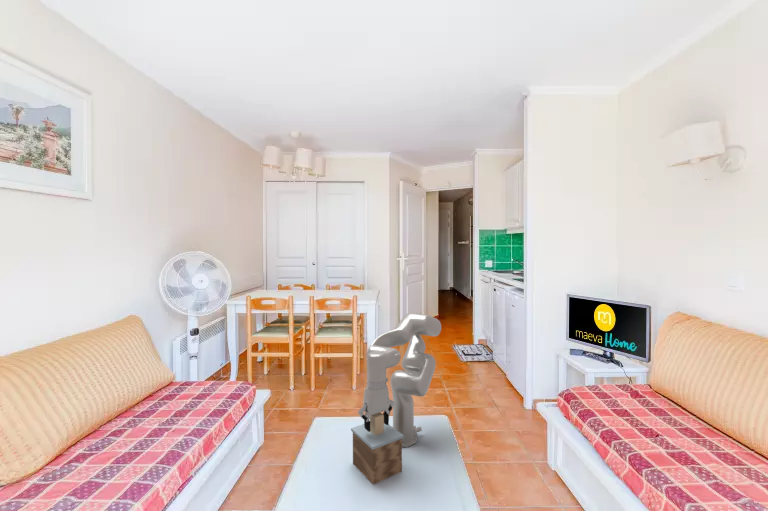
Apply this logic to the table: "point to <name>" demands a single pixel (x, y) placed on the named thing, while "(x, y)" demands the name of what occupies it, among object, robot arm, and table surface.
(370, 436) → the lid
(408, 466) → the table surface
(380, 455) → the crate
